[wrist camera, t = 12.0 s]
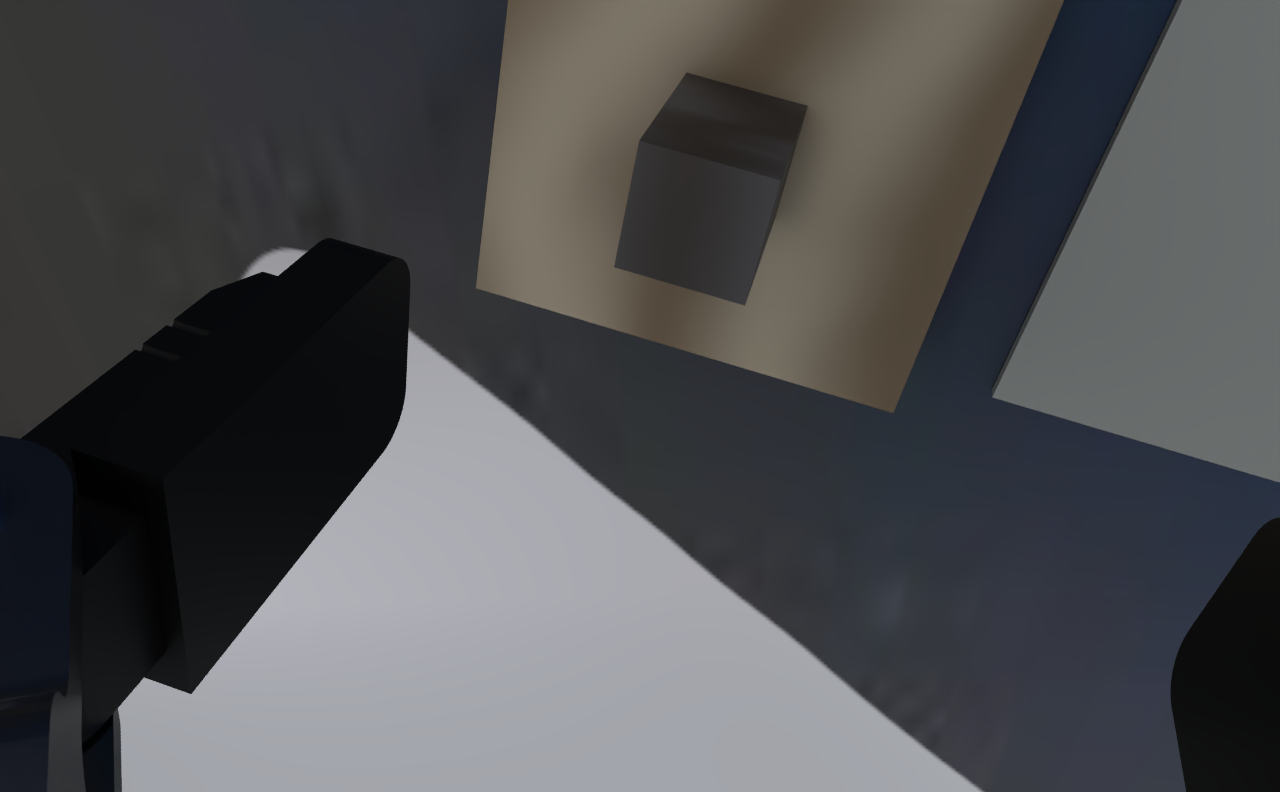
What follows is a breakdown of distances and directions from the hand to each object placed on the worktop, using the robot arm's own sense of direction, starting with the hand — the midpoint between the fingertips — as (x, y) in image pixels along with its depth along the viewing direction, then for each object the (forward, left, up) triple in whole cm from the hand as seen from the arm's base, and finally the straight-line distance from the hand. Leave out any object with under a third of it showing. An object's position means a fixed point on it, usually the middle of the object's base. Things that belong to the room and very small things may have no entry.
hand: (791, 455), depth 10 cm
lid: (+3, +5, -19) cm, 20 cm away
